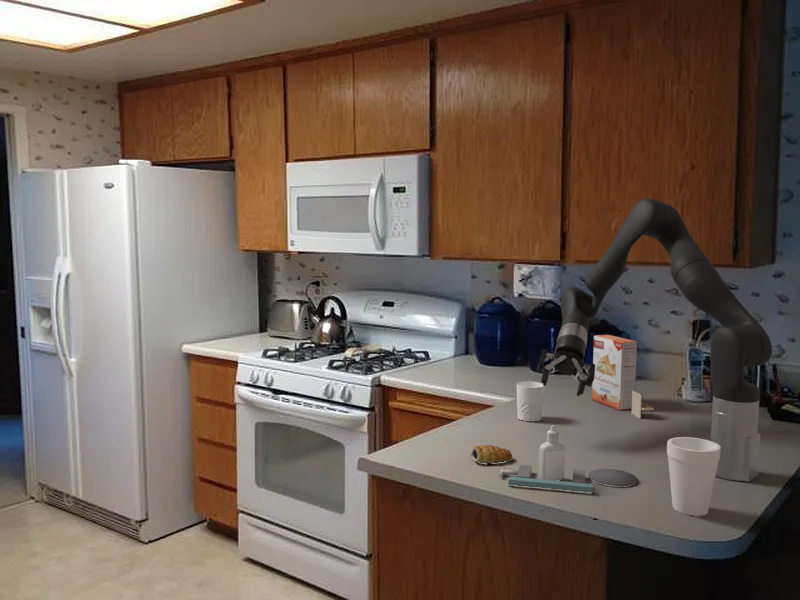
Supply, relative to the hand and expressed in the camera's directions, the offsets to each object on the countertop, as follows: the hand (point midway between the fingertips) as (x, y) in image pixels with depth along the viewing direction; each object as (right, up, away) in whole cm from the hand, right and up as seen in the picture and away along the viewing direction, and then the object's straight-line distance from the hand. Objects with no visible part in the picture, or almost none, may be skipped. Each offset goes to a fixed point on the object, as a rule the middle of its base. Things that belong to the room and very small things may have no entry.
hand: (561, 388), depth 180 cm
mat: (+6, -17, -23) cm, 29 cm away
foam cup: (+16, -19, -40) cm, 47 cm away
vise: (-9, -17, -25) cm, 31 cm away
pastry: (-19, -16, -11) cm, 27 cm away
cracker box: (+25, -10, +44) cm, 52 cm away
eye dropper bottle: (-8, -17, -24) cm, 30 cm away
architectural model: (+29, -12, +31) cm, 44 cm away
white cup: (-3, -12, +26) cm, 29 cm away
